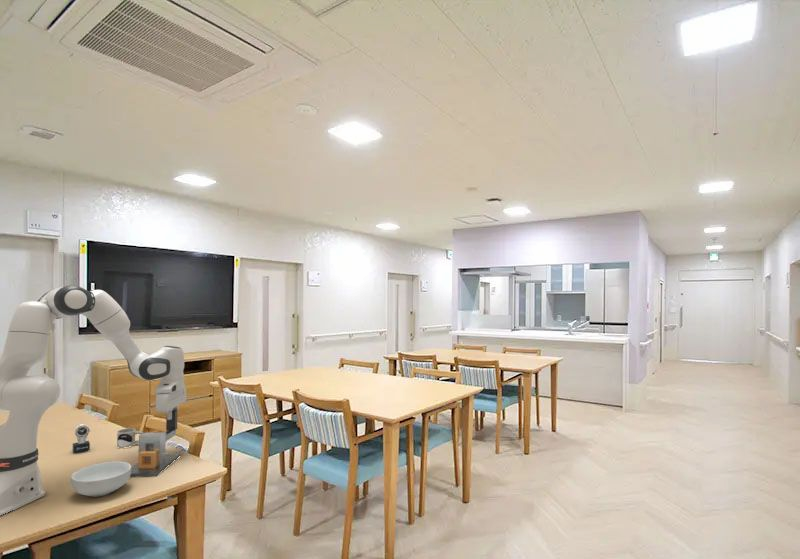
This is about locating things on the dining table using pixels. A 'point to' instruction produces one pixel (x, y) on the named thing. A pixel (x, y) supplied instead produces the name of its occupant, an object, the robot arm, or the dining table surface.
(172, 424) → the dark angled piece
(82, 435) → the watch
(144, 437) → the stand
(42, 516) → the dining table surface
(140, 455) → the orange flat block
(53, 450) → the dining table surface
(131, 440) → the mug
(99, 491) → the cereal bowl
